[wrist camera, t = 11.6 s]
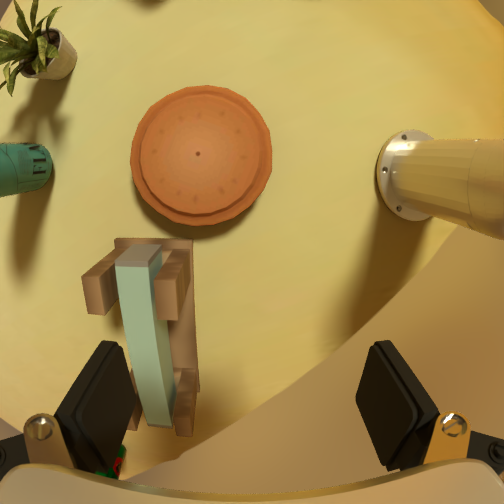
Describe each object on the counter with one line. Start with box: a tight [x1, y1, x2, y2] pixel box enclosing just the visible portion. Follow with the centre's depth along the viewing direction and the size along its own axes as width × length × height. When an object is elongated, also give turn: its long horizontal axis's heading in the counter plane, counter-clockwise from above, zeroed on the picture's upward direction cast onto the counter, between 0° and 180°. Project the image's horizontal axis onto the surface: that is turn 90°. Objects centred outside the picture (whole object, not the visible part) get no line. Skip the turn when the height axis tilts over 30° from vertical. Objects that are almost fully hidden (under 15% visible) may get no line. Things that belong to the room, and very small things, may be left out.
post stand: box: [81, 238, 200, 437], centre depth 33 cm, size 10×24×11 cm, turn 178°
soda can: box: [95, 444, 126, 480], centre depth 41 cm, size 5×5×12 cm
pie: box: [130, 85, 272, 226], centre depth 30 cm, size 15×16×5 cm
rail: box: [114, 244, 177, 429], centre depth 32 cm, size 4×24×6 cm, turn 178°
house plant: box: [0, 0, 77, 96], centre depth 19 cm, size 14×14×16 cm
